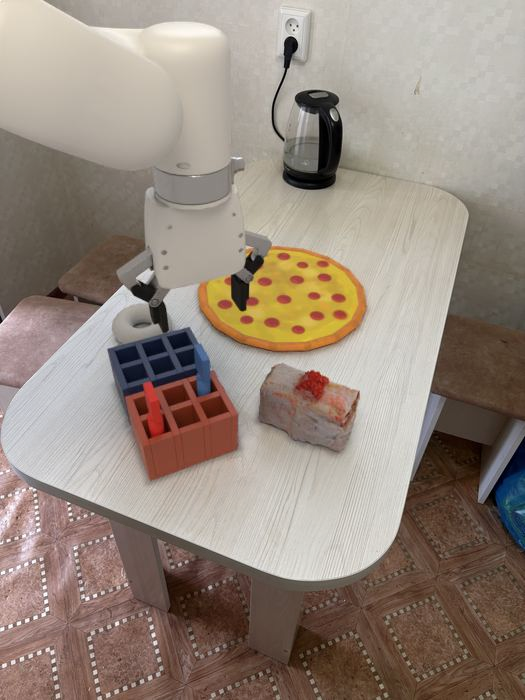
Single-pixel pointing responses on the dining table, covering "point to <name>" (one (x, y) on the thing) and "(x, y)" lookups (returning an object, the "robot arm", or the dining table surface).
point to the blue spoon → (202, 370)
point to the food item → (308, 406)
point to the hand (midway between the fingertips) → (201, 314)
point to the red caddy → (184, 426)
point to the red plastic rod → (153, 411)
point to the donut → (133, 316)
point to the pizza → (288, 302)
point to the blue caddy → (153, 362)
